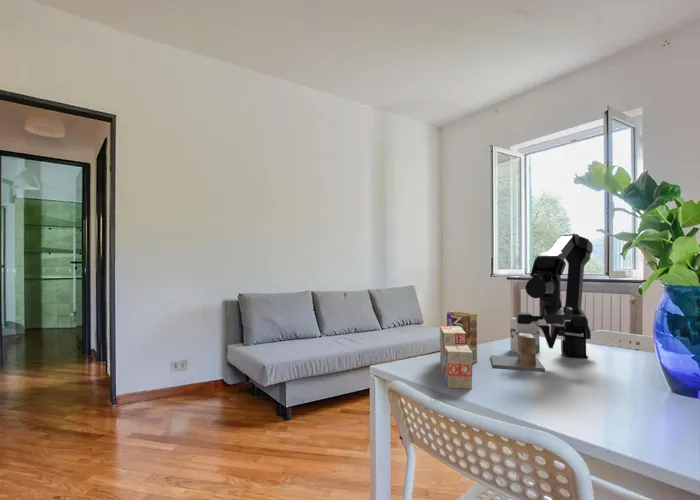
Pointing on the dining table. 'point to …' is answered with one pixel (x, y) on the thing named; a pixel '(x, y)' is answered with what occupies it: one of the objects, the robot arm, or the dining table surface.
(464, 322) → the candy box
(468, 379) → the stack of blocks
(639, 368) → the dining table surface
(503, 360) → the rubber mat
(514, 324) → the ink box
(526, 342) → the cream panel wooden box
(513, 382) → the dining table surface
